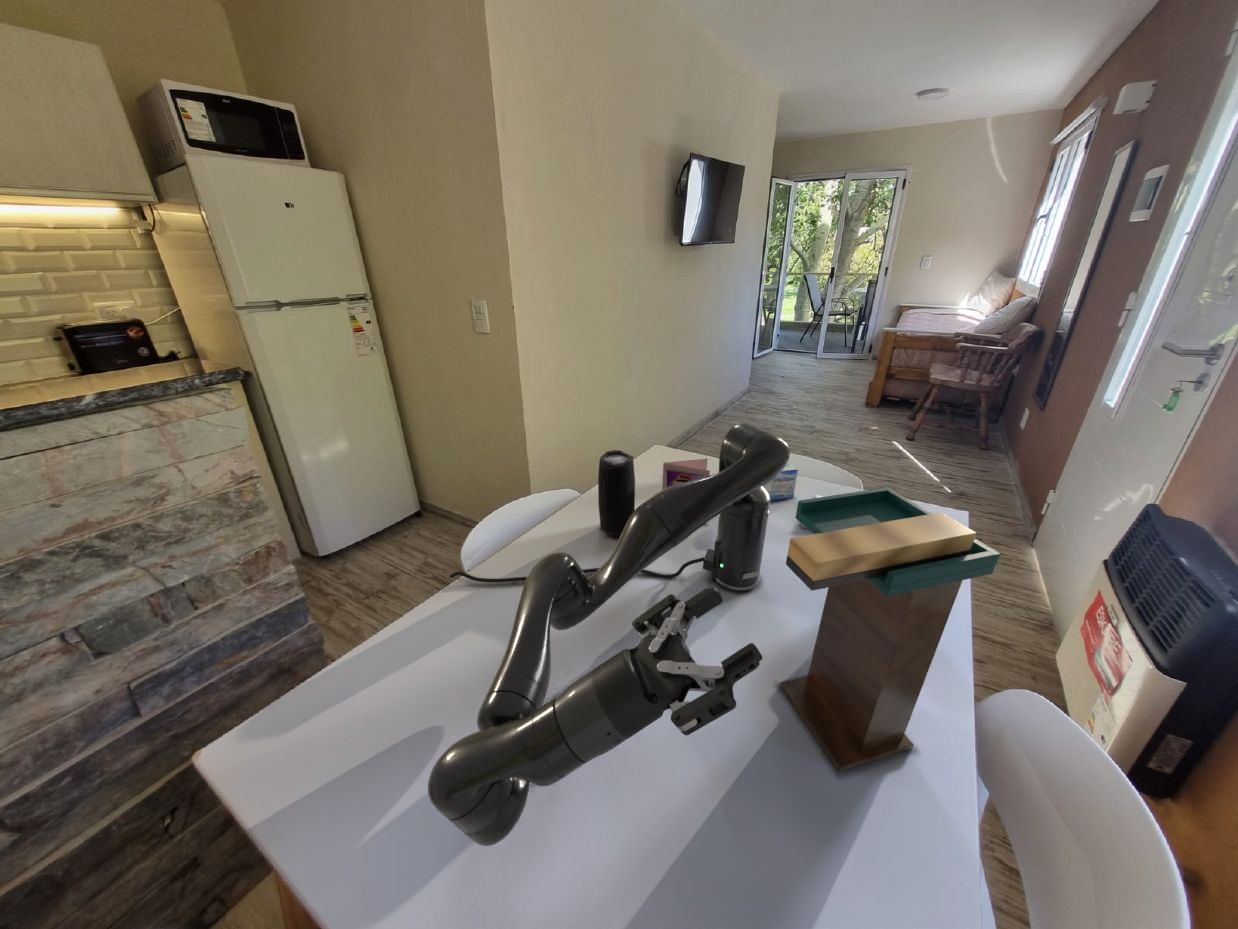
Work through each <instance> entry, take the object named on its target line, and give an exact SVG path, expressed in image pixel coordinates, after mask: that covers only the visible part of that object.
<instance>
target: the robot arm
mask: <svg viewBox="0 0 1238 929" xmlns="http://www.w3.org/2000/svg"><path fill="white" fill-rule="evenodd" d="M790 455H791V449H790V446H789V444H788V443H787V442H786V441H785V440H784V439H782V438H781V437H779V436H778V435H776V434H774V433H771V432H769V431H768V430H765V429H763V428H760V427H759V426H756V425H754V424H751V423H747V422H741V423H738V424H735V425H734V426H732V427H731V428H729V430H728V431H727V432H726V434H725V435H724V437H723V439H722V442H721V446H720V450H719V458H718V473H714V474H713V475H709V477H706V478H702V479H698V480H693V481H689V482H684V483H680V484H676V485H673V486H670V487H668V488H665V489H663V490H662V489H661V490H660V491H659V492H657V493H656V494H654V495H653V496H651V497H650V498H649V499H647V500H646V501H644V502H642V503H641V504H640V505H638V506H637V507H635V508H636V509H634V512H633V513H632V514H631V516H630V517H629V519H628V521H627V523H626V525H625V527H624V529H623V531H622V534H621V536H620V538H618V541H617V543H616V545H615V547H614V549H613V551H612V553H611V554H610V556H609V558H608V559H607V560H606V561H605V562H604V563H603V565H602V566H600V567H597V568H583V569H582V567H581V566H580V565H579V563H578V562H577V561H576V559H575V558H574V557H573V556H572V555H571V554H570V553H567V552H564V551H558V552H553V553H551V554H549V555H547V556H545V557H543V558H542V559H540V560H539V561H538V562H537V563H536V564H535V565H534V566H533V567H532V568H531V569H530V571H529V573H528V574H527V576H519V577H518V576H517V577H502V578H501V577H500V578H486V577H477V576H474V575H471V574H469V573H466V572H464V571H454V572H453V573H451V574H450V575H449V576H448V577H449V578H450V579H451V578H454V577H457V576H461V577H464V578H466V579H468V580H471V581H474V582H478V583H510V582H522V581H524V584H523V587H522V591H521V595H520V598H519V602H518V605H517V608H516V613H515V616H514V621H513V624H512V628H511V632H510V636H509V639H508V642H507V646H506V649H505V652H504V654H503V657H502V660H501V663H500V664H499V667H498V669H497V672H496V674H495V676H494V678H493V680H492V682H491V684H490V686H489V689H488V690H487V693H486V695H485V697H484V698H483V701H482V703H481V705H480V707H479V711H478V713H477V717H476V724H477V728H478V731H476V732H473V733H471V734H467V735H466V736H464V737H462V738H461V739H459V740H457V741H456V742H454V743H453V744H452V745H451V746H449V747H448V748H447V749H446V750H445V751H444V752H443V753H442V754H441V755H440V757H439V758H438V759H437V761H436V762H435V764H434V766H433V767H432V769H431V772H430V774H429V776H428V777H429V778H428V782H427V794H428V798H429V801H430V802H431V804H432V806H433V807H434V808H435V809H436V810H437V811H438V812H439V813H440V814H442V815H443V816H444V817H445V818H446V819H447V820H448V821H450V822H451V824H453V825H454V826H455V827H456V828H457V829H458V830H459V831H461V832H462V833H463V834H464V835H465V836H466V837H467V838H468V839H469V840H470V841H472V842H473V843H475V844H477V845H478V846H481V847H482V846H483V847H491V846H494V845H496V844H499V843H500V842H501V841H503V840H504V839H505V838H506V837H508V835H509V834H510V833H511V832H512V830H514V828H515V827H516V826H517V823H518V822H519V820H520V818H521V817H522V814H523V812H524V809H525V808H526V807H525V806H526V804H527V801H528V796H529V792H530V785H531V784H533V785H535V786H537V787H540V788H541V787H542V788H543V787H549V786H552V785H554V784H556V783H558V782H560V781H561V780H563V779H565V778H566V777H567V776H568V775H571V773H573V772H575V771H576V770H577V769H579V768H581V767H582V766H583V765H585V764H587V763H589V762H590V761H592V760H593V759H596V758H598V757H601V756H603V755H605V754H607V753H608V752H610V751H612V750H613V749H615V748H616V747H618V746H619V745H621V744H622V743H624V742H626V741H627V740H628V739H630V738H632V737H633V736H635V735H636V734H638V733H639V732H641V731H642V730H643V729H645V728H647V727H648V726H650V725H651V724H653V723H655V722H656V721H658V720H659V719H661V718H662V717H663V715H664V712H665V711H667V710H670V711H671V714H670V721H671V723H672V724H673V725H674V726H675V727H676V728H677V729H678V730H679V732H681V734H683V735H684V736H690V735H691V734H693V733H694V732H697V731H698V730H700V729H702V728H704V727H705V726H707V725H708V724H710V723H713V722H714V721H715V720H718V719H719V718H721V717H722V716H724V715H726V714H728V713H729V712H732V711H733V710H735V709H736V707H737V701H736V699H735V696H734V686H735V684H737V682H738V681H740V680H741V679H744V677H746V676H748V675H749V674H751V673H752V672H753V671H755V670H756V669H758V668H759V667H760V665H761V663H760V662H761V661H762V660H763V655H762V653H761V651H760V650H759V649H758V647H757V646H756V644H755V643H754V642H750V643H748V644H746V645H744V646H743V647H741V648H740V649H738V650H737V651H736V652H734V653H733V654H731V655H730V656H728V657H727V658H725V659H723V660H722V661H720V664H721V665H722V666H720V665H703V664H701V663H699V662H696V661H695V659H694V658H693V657H692V655H691V651H690V649H689V647H688V645H687V644H686V641H687V640H688V636H689V635H688V631H689V629H690V627H691V626H692V624H693V621H694V619H696V620H698V619H699V618H701V617H702V616H704V615H706V614H707V613H709V612H710V611H712V610H713V609H715V608H717V606H720V605H721V604H722V603H723V601H724V598H723V597H722V595H721V594H720V592H719V591H718V589H717V587H715V586H711V587H707V588H705V589H702V590H701V591H700V592H698V593H697V594H695V595H694V596H692V597H691V598H689V599H687V600H686V601H684V600H683V601H681V600H680V599H679V598H677V597H676V596H675V594H673V593H670V594H667V595H666V596H665V597H664V598H662V599H661V600H660V601H658V602H657V603H656V604H654V605H653V606H651V607H649V608H648V609H647V610H645V611H644V612H643V613H642V614H640V615H639V616H638V617H636V618H635V619H633V620H632V622H631V626H632V628H633V629H634V630H635V632H637V635H639V637H640V639H641V641H639V643H638V644H637V645H636V646H635V647H634V648H624V649H622V650H620V651H619V652H617V653H616V654H615V655H612V656H611V657H610V658H608V659H607V660H605V661H604V662H602V663H600V664H599V665H598V666H596V667H594V668H593V669H592V670H590V671H589V672H587V673H585V674H584V675H582V676H581V677H579V678H578V679H577V680H574V681H573V682H572V683H571V684H570V685H568V686H567V687H566V688H565V689H564V690H563V691H562V692H560V693H559V694H558V695H556V696H555V697H553V698H552V699H550V700H549V701H547V702H546V703H544V702H545V700H546V696H547V693H548V689H549V685H550V679H551V671H552V670H551V669H552V656H551V654H552V653H551V652H552V650H551V627H552V628H553V629H554V630H556V631H567V630H569V629H571V628H575V626H578V625H580V624H581V623H583V622H584V621H585V620H586V619H588V618H589V617H590V616H592V615H593V614H594V613H595V612H596V611H597V610H599V608H601V607H602V606H603V605H604V604H605V603H606V602H607V601H608V600H609V599H611V598H612V597H613V596H614V595H615V594H616V593H618V591H620V590H621V589H622V588H623V587H624V586H625V585H627V583H629V582H630V581H631V580H632V579H633V578H635V577H636V576H637V575H639V574H646V575H649V576H653V577H657V578H662V579H672V578H677V577H679V576H680V575H681V574H682V572H684V570H685V569H686V568H687V567H689V566H690V565H694V564H697V563H702V570H705V571H710V572H711V576H710V581H712V582H714V583H715V582H716V584H718V586H721V587H722V588H724V589H726V590H729V591H734V592H748V591H752V590H753V589H755V588H756V587H757V586H758V585H759V582H760V573H761V572H760V571H761V567H762V560H763V554H764V546H765V539H766V532H767V527H768V520H769V515H770V507H771V501H770V495H769V493H768V492H767V490H766V489H765V488H764V486H765V485H766V484H768V483H769V482H771V481H772V480H773V479H775V478H776V477H777V476H778V475H779V474H780V473H781V472H782V471H783V469H784V468H785V466H786V465H787V464H789V463H788V462H789V459H790V457H791V456H790ZM718 515H719V516H718ZM717 516H718V527H717V534H716V538H715V540H714V547H713V549H712V548H707V549H706V552H705V555H704V557H699V558H695V559H693V560H689V561H686V562H685V563H683V564H682V565H681V566H680V567H679V569H678V570H677V571H676V572H674V573H670V574H662V573H659V572H654V571H651V570H647V569H646V568H647V567H649V566H651V565H652V564H653V563H654V562H656V561H657V560H659V558H660V557H662V556H664V555H665V554H667V553H668V552H670V551H671V550H673V549H674V548H676V547H677V546H679V545H680V544H682V542H684V541H685V540H686V539H688V538H689V537H690V536H691V535H693V534H694V533H695V532H696V531H697V530H699V529H700V528H701V527H703V526H705V525H706V524H707V523H709V521H711V520H712V519H714V518H715V517H717ZM704 524H705V525H704ZM587 573H588V574H589V573H593V574H591V575H590V576H589V577H587V575H586V574H587ZM689 692H703V694H702V695H700V696H698V697H696V698H694V699H693V700H690V701H686V698H687V697H688V696H687V695H688V693H689Z"/></svg>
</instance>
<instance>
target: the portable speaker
mask: <svg viewBox="0 0 1238 929" xmlns="http://www.w3.org/2000/svg"><path fill="white" fill-rule="evenodd" d="M598 461H599V462H598V475H597V483H598V484H597V485H598V486H597V487H598V488H597V489H598V490H597V491H598V495H597V496H598V499H597V500H598V514H599V515H598V516H599V525H600V529H601V530H602V531H603V532H604V533H605V534H606V535H607V537H609V538H613V539H619V538H620V536H621V534H622V531H623V529H624V527H625V525H626V523H627V521H628V519H629V517H630V516H631V514H632V513H633V512H634V510H635V508H636V507H635V506H636V503H635V502H636V500H635V499H636V475H635V463H634V462H635V461H634V456H633V455H631V454H628V453H626V452H625V451H623V450H620V449H613V450H609V451H605V453H603V454H602V455H601V456H600V457H599V460H598Z"/></svg>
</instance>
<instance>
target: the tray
mask: <svg viewBox="0 0 1238 929" xmlns="http://www.w3.org/2000/svg"><path fill="white" fill-rule="evenodd" d="M928 514H933V513H932V512H930V511H929V510H927V509H925V508H924V507H922V506H920V505H919V504H918V503H916V502H913V501H912V500H910V499H908V498H907V497H906V496H903V495H902V494H900V493H898V492H897V491H895V490H893V489H891V488H890V487H888V486H886V487H880V488H872V489H866V490H859V491H854V492H853V491H852V492H846V493H840V494H833V495H828V496H822V497H819V498H814V497H813V498H807V499H801V500H800V499H799V500H798V502H797V508H796V514H795V519H796V521H798V522H799V523H800V524H801V523H802V524H803V525H804V526H805V527H806V528H805V529H807V530H809V531H810V532H811V533H812V534H818V533H824V532H830V531H836V530H841V529H847V528H853V527H859V526H864V525H870V524H876V523H882V522H888V521H893V520H899V519H905V518H911V517H916V516H922V515H928ZM803 525H802V526H803ZM1000 556H1001V553H1000V552H998V551H996V549H993V548H992V547H990V546H988V545H987V544H985V543H983V542H982V541H979V540H978V539H976V538H975V539H974V542H973V544H972V547H971V549H970V552H969V555H966V556H961V557H956V558H952V559H947V560H942V561H937V562H932V563H927V564H922V565H917V566H912V567H907V568H902V569H898V570H893V571H888V573H887V575H886V576H881V577H876V578H871V579H867V580H868V581H869V582H871V583H872V584H873V585H874V586H875V587H877V588H878V589H879V590H880V591H881V592H882V593H884V594H885V595H886V596H887V597H888V596H893V595H898V594H902V593H907V592H911V591H916V590H920V589H925V588H929V587H934V586H939V585H943V584H948V583H952V582H957V581H961V580H963V581H965V580H969V579H975V578H979V577H980V578H981V577H984V576H989V575H993V573H994V570H995V568H996V565H997V563H998V561H999V558H1000Z"/></svg>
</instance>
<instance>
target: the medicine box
mask: <svg viewBox="0 0 1238 929" xmlns="http://www.w3.org/2000/svg"><path fill="white" fill-rule="evenodd" d="M798 473H799V469H797V468H796V467H795V466H794V465H792V464H790V463H787V465H786V466H785V468H784V469H783V471H782V472H781V473H780V474H779V475H778V476H777V477H776V478H775V479H773V480H772V481H771V482H769V483H768V484H766V485H765V486H764V488H765V489H766V490H767V492H768V493H769V495H770V502H771V501H772V502H773V501H780V500H785V499H792V498H794V496H795V490H796V484H797V480H798Z"/></svg>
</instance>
